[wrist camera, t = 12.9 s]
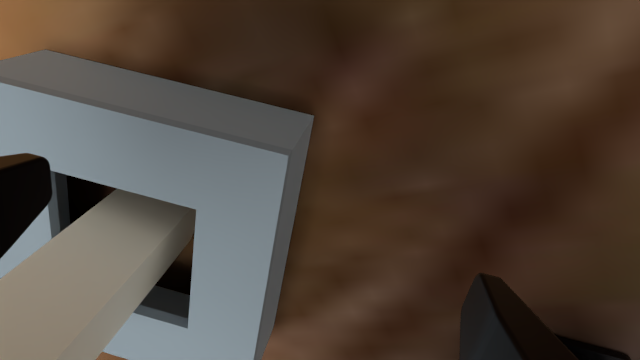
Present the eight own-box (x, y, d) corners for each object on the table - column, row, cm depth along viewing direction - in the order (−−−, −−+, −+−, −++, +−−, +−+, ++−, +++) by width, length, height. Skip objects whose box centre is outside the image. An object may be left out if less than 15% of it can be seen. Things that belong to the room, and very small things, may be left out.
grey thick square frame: (314, 115, 22) (288, 155, 17) (273, 326, 28) (247, 395, 24) (45, 49, 23) (-44, 71, 18) (65, 266, 29) (3, 321, 25)
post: (206, 191, 25) (38, 379, 14) (191, 239, 26) (30, 441, 15) (147, 165, 25) (-69, 332, 14) (136, 214, 26) (-66, 399, 15)
